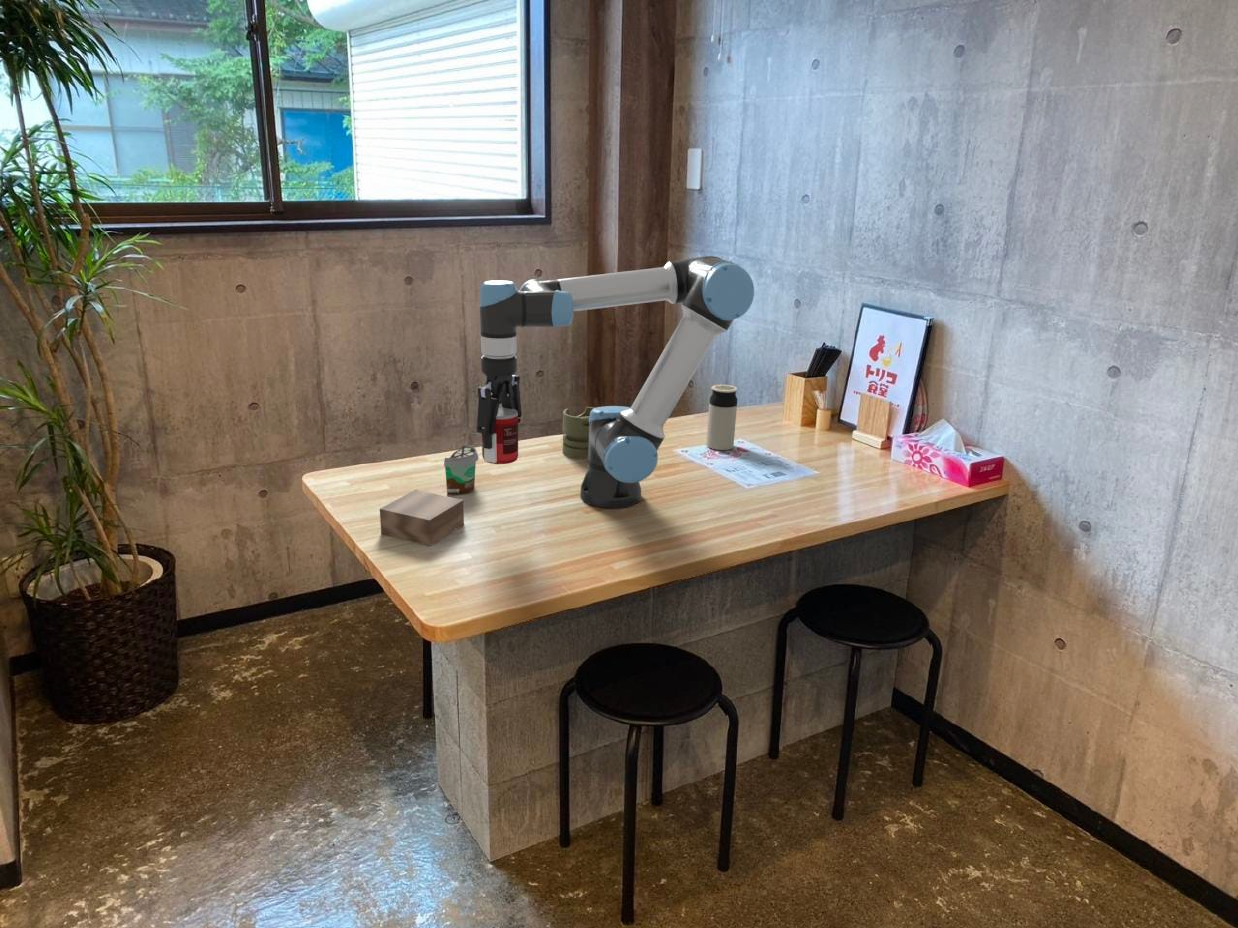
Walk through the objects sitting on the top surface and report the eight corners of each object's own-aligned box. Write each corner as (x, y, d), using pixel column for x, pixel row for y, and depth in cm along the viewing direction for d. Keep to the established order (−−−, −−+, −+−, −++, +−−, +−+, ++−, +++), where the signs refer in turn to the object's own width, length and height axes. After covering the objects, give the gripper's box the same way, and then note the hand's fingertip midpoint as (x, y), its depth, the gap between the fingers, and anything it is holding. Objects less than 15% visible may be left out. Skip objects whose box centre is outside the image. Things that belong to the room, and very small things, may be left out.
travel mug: (734, 451, 257) (739, 391, 251) (707, 450, 257) (711, 390, 251) (731, 443, 264) (736, 384, 258) (705, 441, 264) (709, 383, 258)
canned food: (483, 453, 199) (482, 406, 195) (518, 453, 200) (518, 406, 196) (481, 464, 192) (480, 416, 188) (518, 464, 192) (517, 416, 189)
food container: (468, 499, 215) (467, 461, 211) (444, 496, 216) (443, 458, 212) (486, 482, 226) (485, 445, 223) (463, 479, 227) (462, 443, 224)
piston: (610, 416, 244) (572, 419, 240) (608, 456, 248) (571, 461, 244) (593, 405, 254) (557, 408, 249) (592, 444, 258) (556, 448, 253)
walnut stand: (463, 524, 201) (463, 500, 199) (430, 545, 190) (429, 520, 187) (416, 513, 206) (415, 489, 204) (381, 533, 194) (379, 508, 192)
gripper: (508, 344, 198) (509, 440, 206) (456, 362, 180) (460, 467, 188) (537, 348, 195) (537, 445, 203) (488, 366, 177) (490, 473, 185)
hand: (500, 455), depth 195 cm, fingers closed on canned food, 8 cm apart
